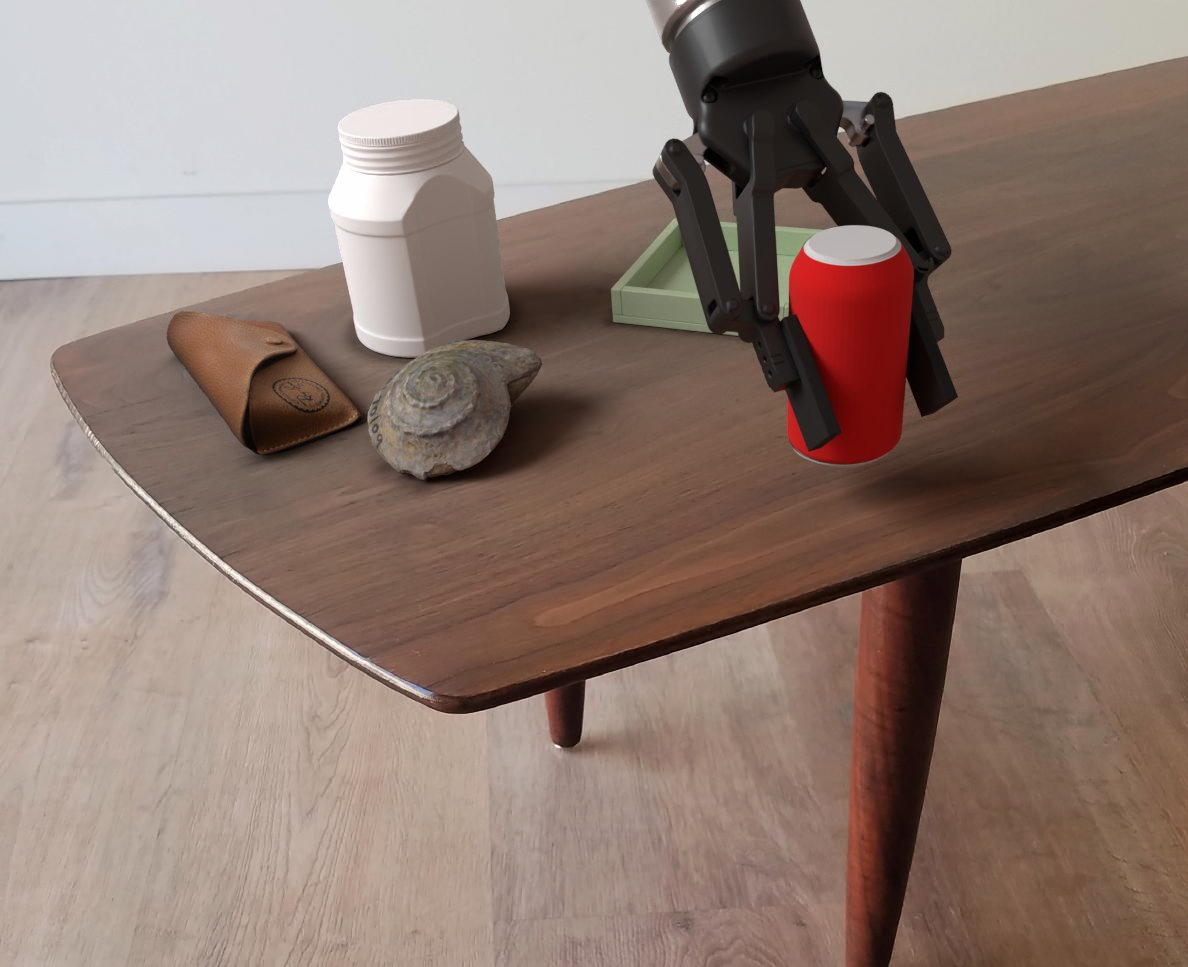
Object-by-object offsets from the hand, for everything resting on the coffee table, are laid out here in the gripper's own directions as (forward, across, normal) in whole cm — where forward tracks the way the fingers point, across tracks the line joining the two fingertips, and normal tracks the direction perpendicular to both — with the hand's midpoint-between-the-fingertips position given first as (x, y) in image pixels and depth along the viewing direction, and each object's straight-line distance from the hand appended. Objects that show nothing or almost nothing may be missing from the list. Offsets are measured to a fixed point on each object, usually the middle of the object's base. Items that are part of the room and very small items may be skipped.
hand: (882, 423), depth 63 cm
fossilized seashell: (-10, +17, -19) cm, 28 cm away
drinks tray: (-17, -7, -26) cm, 32 cm away
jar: (-22, +14, -31) cm, 41 cm away
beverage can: (0, 0, -5) cm, 5 cm away
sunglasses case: (-20, +28, -28) cm, 44 cm away
